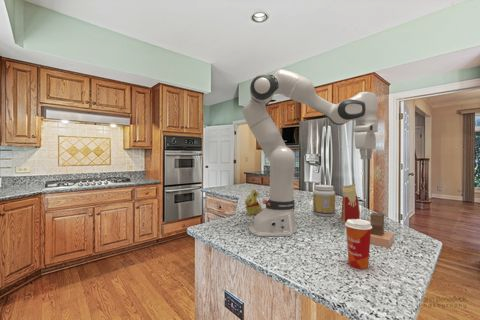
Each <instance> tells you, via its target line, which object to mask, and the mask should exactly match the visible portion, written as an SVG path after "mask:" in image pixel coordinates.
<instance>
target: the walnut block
mask: <svg viewBox="0 0 480 320" xmlns="http://www.w3.org/2000/svg"><path fill="white" fill-rule="evenodd" d="M369 222H370V223H371V226H372V229H371V234H373V235H378V236H382V235H383V234H384V232H385V213H379V212H371V213H370V221H369Z"/></svg>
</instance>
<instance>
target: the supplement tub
mask: <svg viewBox="0 0 480 320" xmlns="http://www.w3.org/2000/svg"><path fill="white" fill-rule="evenodd" d="M334 189H335V188H334V185H332V184H331V185H330V184H314V190H313V191H312V193H313V194H312V195H313V196H312V198H313V200H312V204H313V205H312V207H313V208H312V211H313V214H314V215H316V216H317V217H318V216H319V217H324V218H327V217H334V216H335V214H336V191H335V190H334Z"/></svg>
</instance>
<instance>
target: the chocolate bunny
mask: <svg viewBox="0 0 480 320" xmlns="http://www.w3.org/2000/svg"><path fill="white" fill-rule="evenodd" d="M258 196H259V191H257V190H256V189H254V188H253V189H252V190H251V192H250V194H249V195H248V196H247V197H246V198H245V200H244V203H245V205H246V206H245V209H246V211H247V213H246V215H247V216H256V215H257V214H258V213H260V212H261V211H262V210H263V209H262V206H261V204H260V202H259V201H258V200H257V198H258Z"/></svg>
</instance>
